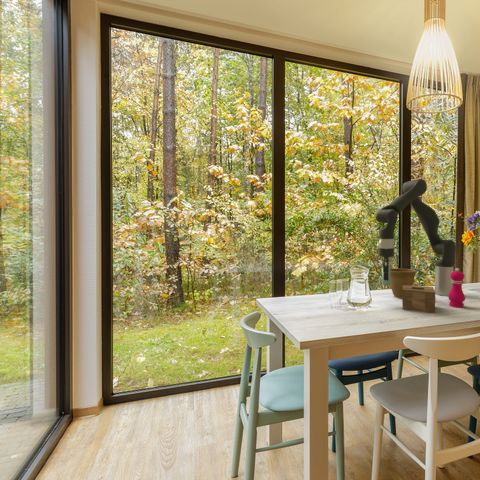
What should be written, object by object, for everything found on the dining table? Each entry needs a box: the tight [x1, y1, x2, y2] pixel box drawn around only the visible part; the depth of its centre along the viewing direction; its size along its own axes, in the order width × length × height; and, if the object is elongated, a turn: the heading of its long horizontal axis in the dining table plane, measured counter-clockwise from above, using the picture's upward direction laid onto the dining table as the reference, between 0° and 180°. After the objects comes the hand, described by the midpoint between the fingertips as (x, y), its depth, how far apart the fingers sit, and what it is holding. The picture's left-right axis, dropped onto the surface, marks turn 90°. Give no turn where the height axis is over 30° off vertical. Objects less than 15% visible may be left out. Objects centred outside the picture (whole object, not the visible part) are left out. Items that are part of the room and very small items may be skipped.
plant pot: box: [389, 268, 416, 299], centre depth 184 cm, size 15×15×16 cm
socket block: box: [401, 285, 436, 314], centre depth 160 cm, size 14×14×10 cm
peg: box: [381, 267, 391, 286], centre depth 166 cm, size 4×4×9 cm
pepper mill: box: [447, 267, 466, 309], centre depth 162 cm, size 7×7×20 cm
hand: (386, 279), depth 167 cm, fingers closed on peg, 4 cm apart
